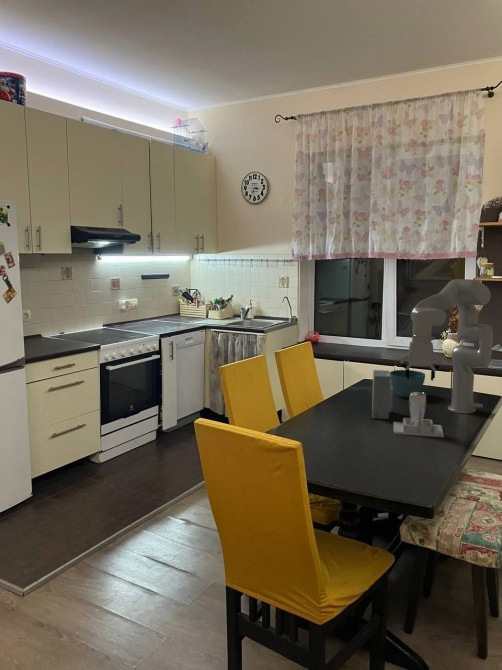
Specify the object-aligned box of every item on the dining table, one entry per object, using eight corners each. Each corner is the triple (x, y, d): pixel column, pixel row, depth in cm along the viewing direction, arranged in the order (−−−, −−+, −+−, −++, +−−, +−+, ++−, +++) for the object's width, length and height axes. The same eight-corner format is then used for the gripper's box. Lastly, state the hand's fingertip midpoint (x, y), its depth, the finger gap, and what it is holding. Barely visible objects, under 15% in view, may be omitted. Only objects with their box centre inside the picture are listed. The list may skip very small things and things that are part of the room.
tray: (440, 427, 242) (441, 413, 241) (443, 437, 228) (444, 423, 228) (393, 424, 247) (393, 410, 246) (393, 433, 233) (394, 419, 232)
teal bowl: (428, 400, 288) (429, 377, 286) (393, 400, 288) (394, 376, 286) (418, 391, 306) (419, 369, 304) (385, 391, 306) (386, 369, 304)
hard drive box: (389, 419, 253) (390, 376, 250) (372, 418, 255) (373, 376, 252) (387, 410, 268) (389, 370, 266) (371, 409, 270) (372, 369, 267)
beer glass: (425, 426, 240) (427, 392, 238) (423, 431, 233) (425, 396, 231) (409, 424, 242) (410, 391, 240) (406, 429, 236) (408, 394, 234)
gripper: (442, 338, 234) (440, 378, 236) (400, 337, 238) (398, 376, 240) (444, 341, 227) (442, 382, 229) (400, 339, 231) (398, 380, 233)
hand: (420, 379), depth 235 cm, fingers open, 9 cm apart
